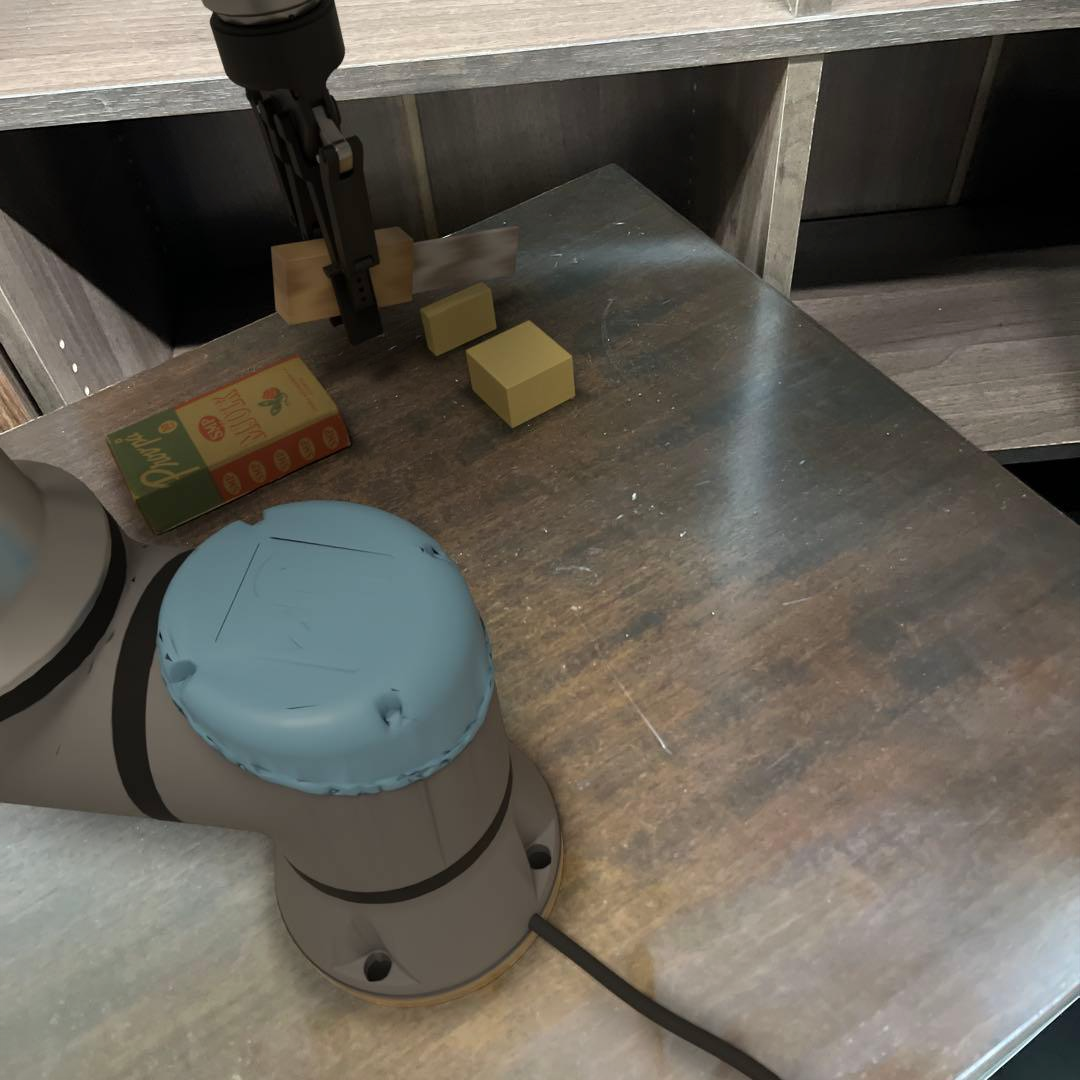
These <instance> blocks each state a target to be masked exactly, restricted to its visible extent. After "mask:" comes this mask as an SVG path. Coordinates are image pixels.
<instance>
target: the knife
mask: <svg viewBox="0 0 1080 1080" xmlns="http://www.w3.org/2000/svg"><path fill="white" fill-rule="evenodd" d="M374 231H375V237H376V242H377V248H378V253H379V259H380V264H379V265H376V266H374V267H372V268H369V272H370V276H371V280H372V284H373V288H374V293H375V297H376V301H377V305H378V309H380V308H384V307H389V306H395V305H399V304H403V303H409V302H412V301H413V295H415V294H420V293H425V292H431V291H436V290H440V289H445V288H450V287H451V288H452V287H457V286H461V285H467V284H471V283H476V282H483V281H486V280H492V279H497V278H502V277H506V276H512V275H515V273H516V264H517V256H518V244H519V233H520V227H519V226H518V225H510V226H505V227H498V228H492V229H486V230H481V231H474V232H468V233H462V234H456V235H452V236H451V235H450V236H444V237H438V238H434V239H426V240H420V241H415V240H414V239H413V237H411V236H410V235H409V234H408V233H407V232H406V231H404V230H403V229H402V228H401V227H399V226H392V227H386V228H379V229H374ZM270 252H271V253H270V254H271V263H272V264H271V267H272V277H273V280H272V281H273V292H274V293H273V294H274V307H275V312H277V314H279V316H280V317H281V318H282V319H283V320H284V322H285V323H286V324H287V325H288V326H294V325H298V324H305V323H310V322H315V321H319V320H324V319H329V318H330V317H334V316H339V315H341V314H340V310H339V306H338V303H337V299H336V296H335V292H334V288H333V285H332V281H331V278H328V277H327V276H326V275H325V273H324V271H323V268H322V267H325V266H327V265H330V264H332V262H331V259H330V256H329V253H328V250H327V247H326V244H325V240H324V238H322V239H316V240H309V241H304V240H303V241H297V242H291V243H285V244H278V245H273V246H270Z"/></svg>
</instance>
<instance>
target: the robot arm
mask: <svg viewBox="0 0 1080 1080" xmlns="http://www.w3.org/2000/svg"><path fill="white" fill-rule="evenodd" d="M201 3H202V5H203V7H204V8H206V9H207V10H209V11H211V16H210V18H209V26H210V29H211V32H212V35H213V38H214V42H215V45H216V49H217V52H218V54H219V58H220V61H221V65H222V67H223V71H224V74H225V75H226V76H227V78H228V80H230V81H231V82H232V83H233V84H235V85H237V86H238V87H240V88H244V91H245V92H244V93H245V97H246V100H247V101H248V102H249V105H250V107H251V109H252V112H253V114H254V117H255V119H256V122H257V124H258V127H259V129H260V132H261V136H262V139H263V142H264V145H265V148H266V152H267V154H268V156H269V157H268V158H269V160H270V163H271V166H272V168H273V172H274V174H275V175H274V176H275V178H276V181H277V184H278V187H279V190H280V192H281V195H282V199H283V201H284V205H285V208H286V210H287V211H286V212H287V214H288V220H289V222H290V223H291V224H292V226H293V227H294V228H300V235H301V238H302V240H303V241H309V240H316V239H322V238H324V240H325V244H326V247H327V250H328V253H329V256H330V259H331V262H332V264H330V265H327V266H325V267H322V268H323V271H324V273H325V275H326V276H327V277H328V278H331V281H332V285H333V288H334V292H335V296H336V299H337V303H338V306H339V310H340V314H341V315H339V316H334V317H330V318H328V320H329V323H330V325H331V326H332V327H333V328H338V327H340V326H341V325H343V328H344V331H345V335H346V339H347V341H348V344H349V345H350V346H351V347H352V348H354V347H356V346H358V345H361V344H363V343H365V342H367V341H370V340H372V339H374V338H377V337H379V336H381V335H383V334H385V329H384V326H383V322H382V317H381V313H380V308H378V305H377V301H376V297H375V293H374V288H373V284H372V280H371V276H370V272H369V268H372V267H374V266H376V265H379V264H380V259H379V253H378V248H377V242H376V237H375V231H374V230H375V226H374V221H373V216H372V209H371V204H370V199H369V194H368V188H367V183H366V182H367V181H366V177H365V171H364V158H365V157H364V155H365V154H364V145H363V142H362V140H361V139H360V138H359V136H358V135H356V134H353V135H350V136H348V137H346V138H345V137H344V136H343V133H342V130H341V124H342V115H341V112H340V109H339V106H338V102H337V100H336V98H335V97H334V95H332V94H331V93H330V90H329V89H328V87H327V82H328V79H329V78H330V76H331V75H332V73H333V72H334V71H335V70H337V69H339V67H340V66H341V65H342V64H343V62H344V60H345V56H346V47H345V41H344V38H343V32H342V28H341V24H340V19H339V14H338V10H337V5H336V1H335V0H201ZM495 672H496V669H495V664H494V661H493V647H492V644H491V643H490V640H489V635H488V629H487V627H486V625H485V622H484V620H483V618H482V616H481V614H480V613H479V610H478V609H477V606H476V604H475V600H474V598H473V595H472V593H471V590H470V588H469V585H468V583H467V580H466V579H465V577H464V575H463V573H462V571H461V569H460V568H459V566H458V565H457V563H456V561H453V559H452V558H451V557H450V556H449V555H448V553H446V552H445V550H444V549H443V547H442V546H441V544H440V543H438V542H437V541H436V540H435V539H434V538H433V537H432V536H430V535H429V534H427V532H425V531H424V530H422V529H421V528H420V527H418V526H416V525H415V524H413V523H411V522H410V521H408V520H406V519H404V518H402V517H400V516H398V515H396V514H393V513H391V512H389V511H386V510H383V509H381V508H378V507H374V506H371V505H367V504H362V503H357V502H351V501H344V500H343V501H342V500H330V499H314V500H304V501H293V502H287V503H283V504H279V505H274V506H270V507H268V508H265V509H263V511H262V519H261V520H259V521H257V522H256V523H254V524H249V523H247V522H245V521H243V520H241V519H237V520H235V521H233V522H231V523H229V524H226V525H225V526H223V527H222V528H220V530H218V531H216V532H214V533H213V534H212V535H210V536H209V537H207V538H206V539H205V540H204V541H203V542H201V543H200V544H199V545H198V546H196V547H194V546H193V547H191V546H180V545H179V546H178V545H166V544H165V545H164V544H150V543H149V544H147V543H144V542H142V541H138V540H137V539H135V538H132V537H131V536H129V535H128V534H127V533H126V532H125V530H124V529H123V528H122V527H121V525H120V524H119V523H118V522H117V520H116V519H115V517H114V516H113V515H112V514H111V513H110V512H109V511H108V510H107V508H106V507H105V506H104V505H103V503H102V502H101V501H100V499H99V498H98V497H97V496H96V494H95V493H94V492H93V491H92V490H91V489H90V487H88V485H87V484H86V483H85V482H83V481H82V480H81V479H79V478H78V477H76V476H75V475H74V474H72V473H71V472H68V471H67V470H65V469H64V468H61V467H60V466H56V465H54V464H53V465H52V464H50V463H47V462H42V461H36V460H30V459H15V458H14V459H13V458H12V459H11V458H10V456H9V455H8V454H7V453H6V452H5V450H3V448H2V447H0V803H1V804H9V805H11V804H12V805H20V806H29V807H37V808H39V807H40V808H45V809H46V808H49V809H57V810H66V811H74V812H85V813H92V814H93V813H95V814H103V815H113V816H122V817H130V818H138V819H141V818H142V819H148V820H157V821H160V822H161V821H163V822H170V823H171V822H172V823H179V824H189V825H198V826H203V827H204V826H205V827H213V828H215V827H216V828H220V829H221V828H222V829H231V830H240V831H246V832H247V831H248V832H254V833H259V834H263V835H265V836H269V837H270V838H271V840H272V841H273V843H274V844H275V846H274V847H275V848H274V862H273V863H274V866H273V867H274V868H273V870H274V871H273V873H274V875H273V877H274V889H275V894H276V895H275V896H276V902H277V906H278V909H279V912H280V916H281V919H282V921H283V923H284V926H285V928H286V930H287V932H288V935H290V937H291V939H292V942H293V943H294V944H295V945H296V947H297V948H298V949H299V951H300V953H302V955H303V956H304V957H305V959H306V960H307V961H308V963H309V964H310V965H311V966H312V967H313V968H314V969H315V970H316V971H317V972H318V973H319V974H320V976H322V977H323V978H324V979H325V980H327V981H328V982H329V983H330V984H332V985H334V986H335V987H337V989H339V990H341V991H343V992H344V993H346V994H349V995H350V996H353V997H355V998H357V999H360V1000H363V1001H365V1002H369V1003H373V1004H377V1005H381V1006H388V1007H395V1008H397V1007H398V1008H415V1007H428V1006H434V1005H437V1004H439V1005H440V1004H444V1003H446V1002H449V1001H453V1000H456V999H460V998H462V997H464V996H466V995H469V994H472V993H474V992H475V991H477V990H479V989H481V988H483V987H485V986H486V985H488V984H490V983H491V982H493V981H494V980H496V979H497V978H499V977H500V976H501V975H502V974H503V973H505V972H506V971H508V970H509V969H510V968H511V967H512V966H514V965H515V963H516V962H517V961H519V960H520V959H521V957H522V956H524V954H525V953H526V952H527V950H528V949H529V948H530V947H531V946H532V945H533V944H534V942H535V940H536V939H537V937H538V936H539V937H540V938H542V939H543V940H544V941H545V942H546V943H548V944H549V945H551V946H552V947H553V948H554V949H556V950H557V951H559V952H560V953H561V954H562V955H564V956H565V957H567V958H568V959H569V960H570V961H571V962H573V963H574V964H576V966H578V967H579V968H581V969H582V970H584V971H585V972H586V973H587V974H588V975H590V976H591V977H592V978H593V979H595V980H596V981H597V982H599V983H600V984H601V985H602V986H603V987H605V988H606V989H607V990H608V991H610V992H611V993H612V994H614V995H615V996H616V997H618V998H619V999H620V1000H621V1001H623V1003H626V1004H627V1005H628V1006H630V1007H631V1008H632V1009H633V1010H635V1011H636V1012H638V1013H639V1014H641V1015H643V1016H644V1017H646V1018H647V1019H649V1020H651V1021H652V1022H653V1023H654V1024H656V1025H658V1026H660V1027H661V1028H664V1029H665V1030H667V1031H669V1032H670V1033H672V1034H674V1035H675V1036H678V1037H679V1038H681V1039H682V1040H685V1041H686V1042H688V1043H690V1044H692V1045H693V1046H696V1047H697V1048H699V1049H701V1050H703V1051H704V1052H707V1053H708V1054H711V1055H712V1056H714V1057H716V1058H717V1059H719V1060H720V1061H723V1062H724V1063H726V1064H728V1065H729V1066H731V1067H732V1068H734V1069H736V1070H737V1071H739V1072H740V1073H742V1074H743V1075H745V1076H747V1077H748V1078H749V1079H751V1080H783V1079H782V1078H780V1077H779V1076H778V1075H777V1074H776V1073H774V1072H773V1071H772V1070H770V1069H768V1068H767V1067H766V1066H765V1065H763V1064H762V1063H760V1062H759V1061H757V1060H756V1059H754V1058H753V1057H751V1056H750V1055H749V1054H747V1053H745V1052H743V1051H742V1050H740V1049H739V1048H737V1047H735V1046H734V1045H732V1044H730V1043H728V1042H727V1041H725V1040H723V1039H721V1038H720V1037H718V1036H716V1035H714V1034H713V1033H711V1032H708V1031H707V1030H705V1029H703V1028H701V1027H699V1026H697V1025H696V1024H693V1022H690V1021H689V1020H686V1019H684V1018H682V1017H681V1016H679V1015H678V1014H675V1013H674V1012H672V1011H670V1010H668V1009H667V1008H665V1006H662V1005H660V1004H658V1003H657V1002H656V1001H654V1000H652V999H651V998H650V997H648V996H646V995H645V994H644V993H642V992H641V991H639V990H638V989H637V988H635V987H634V986H632V985H631V984H629V983H628V982H627V981H626V980H624V979H623V978H622V977H620V976H619V975H618V974H616V972H614V971H613V970H612V969H610V968H609V967H608V966H607V965H605V964H604V963H603V962H602V961H600V960H599V959H597V958H596V957H595V956H594V955H593V954H591V953H590V952H588V951H587V950H586V949H585V948H584V947H582V946H581V945H579V944H578V943H577V942H575V940H573V939H571V938H570V937H569V936H568V935H566V934H565V933H564V932H562V931H561V930H559V929H558V928H557V927H556V926H554V925H553V924H551V922H549V921H548V919H549V917H550V915H551V912H552V910H553V908H554V906H555V903H556V900H557V897H558V894H559V890H560V886H561V882H562V876H563V869H564V841H563V834H562V828H561V819H560V815H559V811H558V808H557V803H556V801H555V798H554V795H553V793H552V790H551V788H550V786H549V784H548V782H547V781H546V778H545V777H544V775H543V773H542V772H541V771H540V769H539V767H538V766H537V765H536V764H535V763H534V761H532V759H531V758H530V757H529V756H528V755H527V754H526V753H525V752H524V751H523V750H522V749H521V748H520V747H519V746H517V744H515V743H514V742H513V741H512V740H511V739H510V738H509V737H508V736H507V733H506V732H507V731H506V728H505V727H506V726H505V722H504V717H503V714H502V713H503V711H502V708H501V703H500V698H499V693H498V688H497V684H496V674H495Z"/></svg>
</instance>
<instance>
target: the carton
mask: <svg viewBox="0 0 1080 1080" xmlns="http://www.w3.org/2000/svg"><path fill="white" fill-rule="evenodd" d="M343 419H344V418H343V416H342V414H341V412H340V409H339V408H338V406H337V404H336V403H335V401H334V400H333V399H332V398H331V396H330V395H329V393H328V392H327V391H326V389H325V388H324V387H323V385H322V384H321V383H320V382H319V380H318V379H317V378H316V376H315V375H314V373H313V371H312V370H311V369H310V367H309V366H308V365H307V363H305V361H304V359H302V357H301V356H300V355H299V354H298V353H296V354H294V355H291V356H287V357H286V358H284V359H281V360H278V361H277V362H274V363H272V364H270V365H268V366H265V367H262V368H261V369H258V370H256V371H254V372H251V373H250V374H246V375H244V376H241V377H239V378H237V379H235V380H233V381H231V382H228V383H226V384H223V385H221V386H219V387H216V388H213V389H212V390H210V391H208V392H205V393H202V394H201V395H198V396H196V397H193V398H191V399H189V400H186V401H183V402H181V403H179V404H177V405H175V406H172V407H170V408H167V409H165V410H163V411H160V412H157V413H156V414H153V415H150V416H148V417H146V418H143V419H141V420H139V421H137V422H134V423H131V424H129V425H127V426H124V427H122V428H120V429H118V430H116V431H113V432H111V433H108V434H106V435H105V436H104V439H105V442H106V445H107V447H108V449H109V452H110V455H111V456H112V458H113V460H114V463H115V465H116V467H117V469H118V472H119V473H120V475H121V478H122V479H123V481H124V483H125V486H126V488H127V490H128V493H129V495H130V497H131V499H132V501H133V503H134V505H135V508H136V510H137V512H138V514H139V516H140V519H142V522H144V525H145V526H146V527H147V529H148V530H149V531H150V533H151V534H153V535H156V536H158V535H161V533H165V532H167V531H169V530H171V529H174V528H176V527H178V526H180V525H183V524H185V523H187V522H190V521H191V520H194V519H195V518H198V517H200V516H201V515H204V514H205V513H209V512H210V511H213V510H215V509H216V508H219V507H222V505H225V504H227V503H229V502H232V501H234V500H236V499H238V498H240V497H242V496H245V495H247V494H248V493H250V492H252V491H255V490H256V489H258V488H261V487H262V486H264V485H267V484H269V483H272V482H273V481H276V480H277V479H281V478H282V477H284V476H286V475H288V474H290V473H292V472H294V471H297V470H299V469H301V468H302V467H303V468H304V467H305V466H307V465H310V464H311V463H314V462H316V461H318V460H321V459H323V458H325V457H327V456H329V455H331V454H333V453H336V452H338V451H340V450H342V449H344V448H346V447H349V446H351V441H350V436H349V434H348V431H347V430H348V429H347V427H346V424H345V422H344V420H343Z"/></svg>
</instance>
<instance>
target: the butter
mask: <svg viewBox="0 0 1080 1080" xmlns="http://www.w3.org/2000/svg"><path fill="white" fill-rule="evenodd" d="M465 356H466V362H467V367H468V374H469V378H470V384H471V389H472V391H473V392H474V393H475V394H476V395H477V396H478V397H479V398H480V399H481V400H482V401H483V402H484V403H485V404H486V405H488V407H489V408H490V409H491V410H492V411H494V413H496V415H498V416H499V418H500V419H502V420H503V421H504V422H505V424H507V425H508V426H509V427H510V428H511V429H514V428H516V427H518V426H521V425H522V424H524V423H526V422H528V421H530V420H532V419H534V418H536V417H537V416H540V415H542V414H544V413H545V412H548V411H550V410H552V409H553V408H555V407H557V406H560V405H561V404H563V403H565V402H566V401H569V400H571V399H573V398H574V397H576V386H575V373H574V362H573V361H574V360H573V356H572V355H571V353H569V352H568V351H567V350H566V349H565V348H563V347H562V346H561V345H559V343H557V341H555V340H554V339H553V338H551V337H550V336H549V335H548V334H547V333H545V332H544V331H543V330H542V329H541V328H540V327H538V326H537V325H536V324H535V323H534V322H532V321H531V320H530V319H528V320H526V321H523V322H521V323H520V324H518V325H515V326H514V327H512V328H509V329H507V330H505V331H503V332H501V333H499V334H497V335H494V336H493V337H490V338H488V339H485V340H484V341H482V342H480V343H478V344H475V345H474V346H472V347H469V348H467V349H465Z"/></svg>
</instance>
